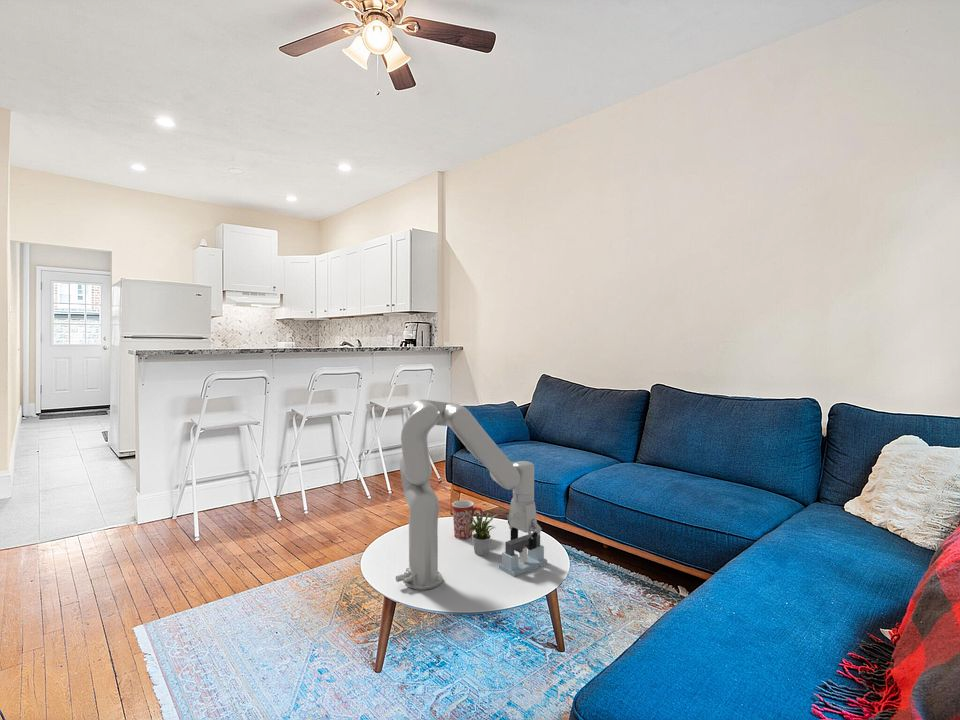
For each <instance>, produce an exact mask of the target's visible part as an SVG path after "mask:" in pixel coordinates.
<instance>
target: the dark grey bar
mask: <svg viewBox="0 0 960 720" xmlns="http://www.w3.org/2000/svg"><path fill="white" fill-rule="evenodd" d="M531 533H532V535H533V532H531ZM529 538H530V537H529V534H528V533H527V534H525V535H522V536H518V538H516V539H513V540H511V539H510V540H507V541H505V547H504V550H505V551H504V552H505V553H506V554H508V555H510V556H513V555H514V553H515V552H516V553H517V552H518V553H521V552H522V546H526V547H527V550H528V549H529ZM540 545H541V534H540V535H539V536H538V537H537V540H536V547H538V546H540Z"/></svg>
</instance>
